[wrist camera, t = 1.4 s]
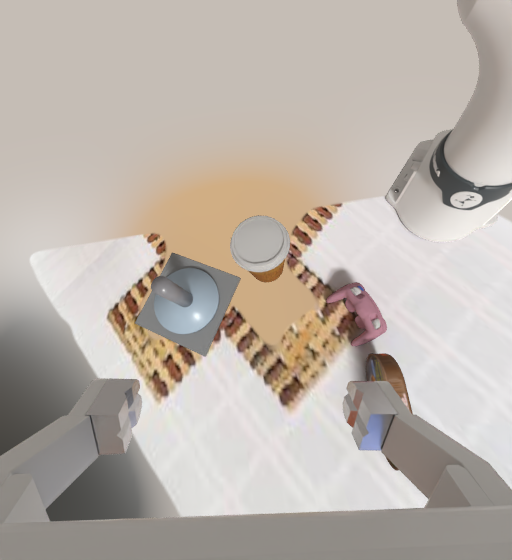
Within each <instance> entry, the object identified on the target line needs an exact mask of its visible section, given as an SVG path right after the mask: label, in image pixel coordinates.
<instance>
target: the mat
mask: <svg viewBox="0 0 512 560" xmlns="http://www.w3.org/2000/svg"><path fill="white" fill-rule="evenodd" d="M185 268H195V269H199V270H202V271H204V272H205V273H207V274H208V275H209V276H210V277H211V278H212V279H213V280H214V281H215V283H216V285H217V287H218V290H219V306H218V309H217V312H216V314H215V316H214V318H213V319H212V320H211V321H210V323H209V324H208V325H207V326H205V327H204V328H203V329H201V330H199V331H197V332H194V333H191V334H178V333H174V332H171V331H169V330H167V329H166V328H164V327H163V326H162V325H161V324H160V322H159V321H158V319H157V317H156V314H155V310H154V300H155V295H156V294H155V293H154V292H153V291H152V292H151V294H150V296H149V298H148V300H147V301H146V303H145V305H144V307H143V309H142V311H141V313H140V315H139V316H138V318H137V320H136V322H135V324H138V325H140V326H142V327H144V328H146V329H148V330H150V331H152V332H155V333H157V334H159V335H161V336H163V337H165V338H167V339H169V340H171V341H173V342H176V343H178V344H180V345H182V346H184V347H186V348H188V349H190V350H192V351H195V352H197V353H199V354H201V355H203V356H206V354H207V352H208V350H209V348H210V346H211V343H212V341H213V339H214V337H215V335H216V332H217V330H218V328H219V326H220V323H221V321H222V319H223V317H224V315H225V312H226V310H227V308H228V306H229V304H230V301H231V299H232V297H233V295H234V292H235V290H236V288H237V286H238V284H239V281H240V279H241V278H239V277H237V276H234V275H232V274H229V273H226V272H224V271H221V270H218V269H215V268H213V267H210V266H207V265H204V264H202V263H199V262H196V261H194V260H191V259H188V258H186V257H183V256H180V255H178V254H175V253H172V254H171V256H170V258H169V260H168V262H167V264H166V265H165V267H164V269H163V271H162V273H161V275H160V276H164V277H166V278H167V277H168V276H169V275H170V274H172V273H174V272H176V271H178V270H180V269H185Z"/></svg>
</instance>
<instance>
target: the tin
mask: <svg viewBox="0 0 512 560" xmlns="http://www.w3.org/2000/svg"><path fill="white" fill-rule="evenodd" d="M366 376H367V381H387V382H389V383H390V384H391V386H392V387H393V388H394V390H395V391H396V393H397V394H398V395H399V397H400V398H401V400H402V401H403V402H404V404H405V405H406V407H407V408H408V409H409V411H410V412H411V413H412V410H411V405H410V401H409V397H408V393H407V388H406V384H405V380H404V377H403V374H402V372H401V369H400V367H399V365H398V363H397V362H396V360H395V359H394V358H393V357H392V356H390V355H388V354H369V355H368V357H367V361H366ZM412 415H413V413H412ZM386 458H387V457H386ZM387 460H388V462H389V464H390V465H391V466H392V468H394V469H395V470H399V469H398V468H397V467H396V466H395V465H394V464H393V463H392V462H391V461H390V460H389V459H388V458H387Z"/></svg>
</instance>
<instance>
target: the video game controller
mask: <svg viewBox="0 0 512 560" xmlns="http://www.w3.org/2000/svg"><path fill="white" fill-rule="evenodd" d="M343 298H347V300H346V303H345V305H346V308H347V309H348V310H349V311H350V312H354V311H356V313H357V314H358V315H359V316H357V317H356V318H355V322H356V324H357V326H358V327H359V328H362V329H365V331H364V332H363V333H362V334H361V335H359V336H358V337H356V338H355V339H354V340H353V341H352V342H351V345H352V346H359V345H362V344H365V343H367V342H370V341H372V340H373V339H375V338H377V337H378V336H380V335H381V334H383V333H385V332H386V330H387V325H386V322H385V320H384V319H383V318H382V315H381V313H380V311H379V309H378V307H377V305H376V303H375V302H374V301H373V299H372V298H371V297H370V295H369V294H368V293H367V292H366V291H365V289H364V287H363V286H362V285H361V284H360V283H357V282H355V283H351V284H348V285H345V286H343V287H342V288H340V289H338V290H337V291H336V292H334V293H333V294H331V295H330V296H329V297H328V298H327V300H326V302H327V303H332V302H335V301H338V300H341V299H343Z"/></svg>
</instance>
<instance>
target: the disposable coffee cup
mask: <svg viewBox="0 0 512 560" xmlns="http://www.w3.org/2000/svg"><path fill="white" fill-rule="evenodd" d="M289 248H290V238H289V235H288V232H287V230H286V228H285V227H284V226H283V225H282V224H281V223H280V222H278V221H277V220H275V219H274V218H271V217H268V216H254V217H250V218H248V219H246V220H245V221H243V222H242V223H240V224H239V226H238V227H237V228H236V229H235V231H234V233H233V236H232V238H231V244H230V249H231V254H232V257H233V259H234V260H235V261H236V263H237V264H238V265H239V266H241V267H242V268H244V269H246V270H248V271H249V272H250V273H251V274H252V275H253V276H254V277H256V279H258V280H260V281H262V282H272V281H274V280H276V279H277V278H278V277H279V276H280V275H281V274H282V271H283V266H284V262H285V258H286V256H287V254H288V251H289Z"/></svg>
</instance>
